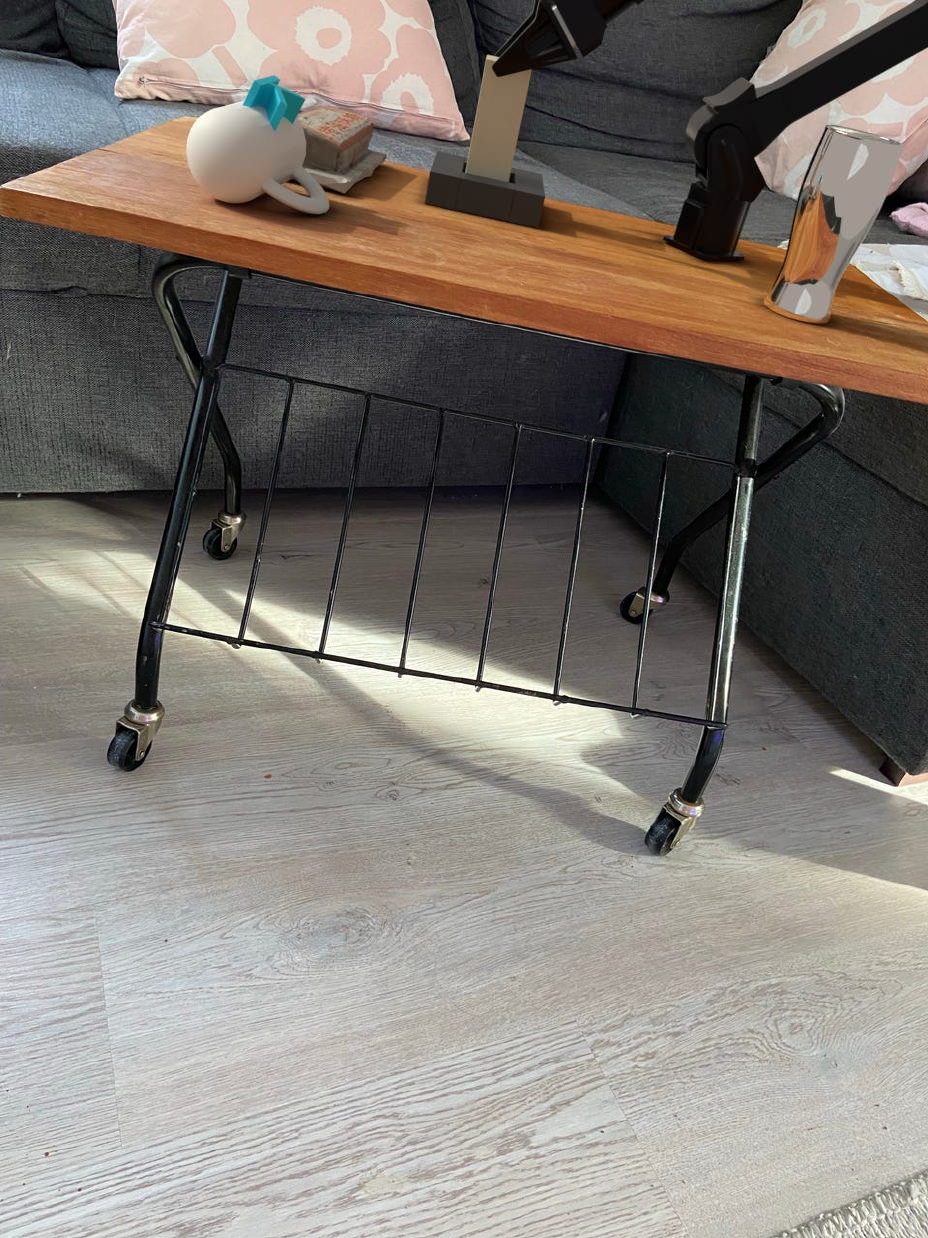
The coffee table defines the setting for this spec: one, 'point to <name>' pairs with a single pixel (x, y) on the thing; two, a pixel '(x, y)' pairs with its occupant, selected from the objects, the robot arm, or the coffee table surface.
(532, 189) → the pad base
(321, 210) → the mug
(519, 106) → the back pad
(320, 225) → the coffee table surface
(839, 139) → the beer glass
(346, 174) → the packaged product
